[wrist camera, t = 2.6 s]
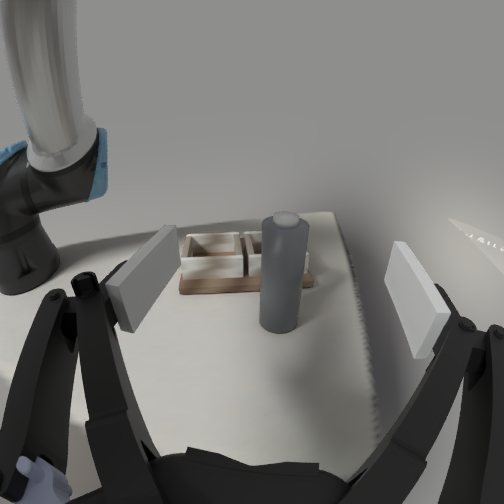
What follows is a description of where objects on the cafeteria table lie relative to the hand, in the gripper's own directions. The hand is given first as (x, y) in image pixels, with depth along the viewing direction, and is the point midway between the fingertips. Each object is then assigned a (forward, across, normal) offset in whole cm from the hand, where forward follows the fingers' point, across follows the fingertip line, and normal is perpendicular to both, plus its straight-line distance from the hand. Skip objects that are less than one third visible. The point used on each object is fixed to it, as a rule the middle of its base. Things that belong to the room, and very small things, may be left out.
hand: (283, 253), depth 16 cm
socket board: (+22, -6, -14) cm, 27 cm away
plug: (+10, 0, -14) cm, 17 cm away
